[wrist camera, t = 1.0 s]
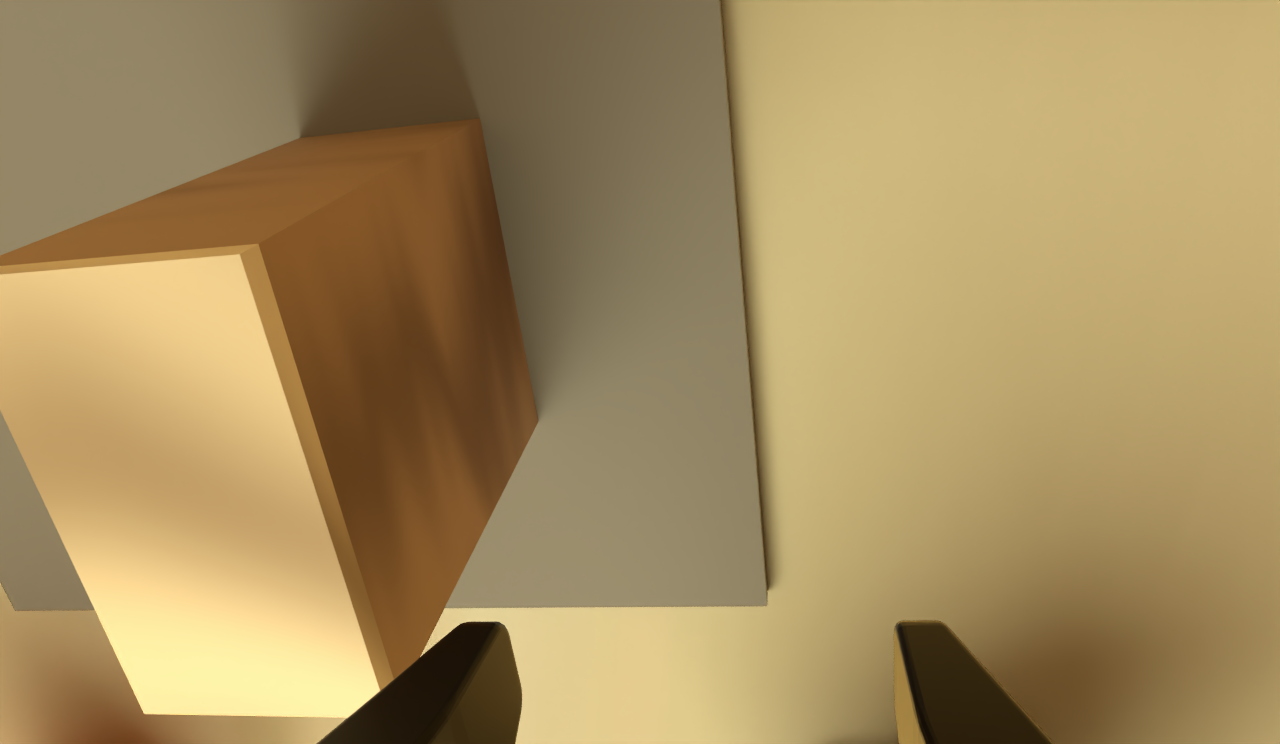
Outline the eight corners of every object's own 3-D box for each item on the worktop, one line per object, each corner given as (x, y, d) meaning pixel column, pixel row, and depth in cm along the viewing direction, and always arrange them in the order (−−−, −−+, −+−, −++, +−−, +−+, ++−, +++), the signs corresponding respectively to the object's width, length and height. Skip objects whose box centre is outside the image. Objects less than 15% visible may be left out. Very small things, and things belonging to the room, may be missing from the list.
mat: (767, 593, 23) (767, 606, 22) (28, 599, 27) (15, 610, 26) (701, -243, 15) (699, -248, 15) (-311, -64, 19) (-337, -65, 19)
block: (538, 421, 21) (388, 718, 13) (379, 429, 22) (144, 714, 14) (479, 118, 18) (239, 255, 10) (299, 137, 19) (-62, 279, 11)
